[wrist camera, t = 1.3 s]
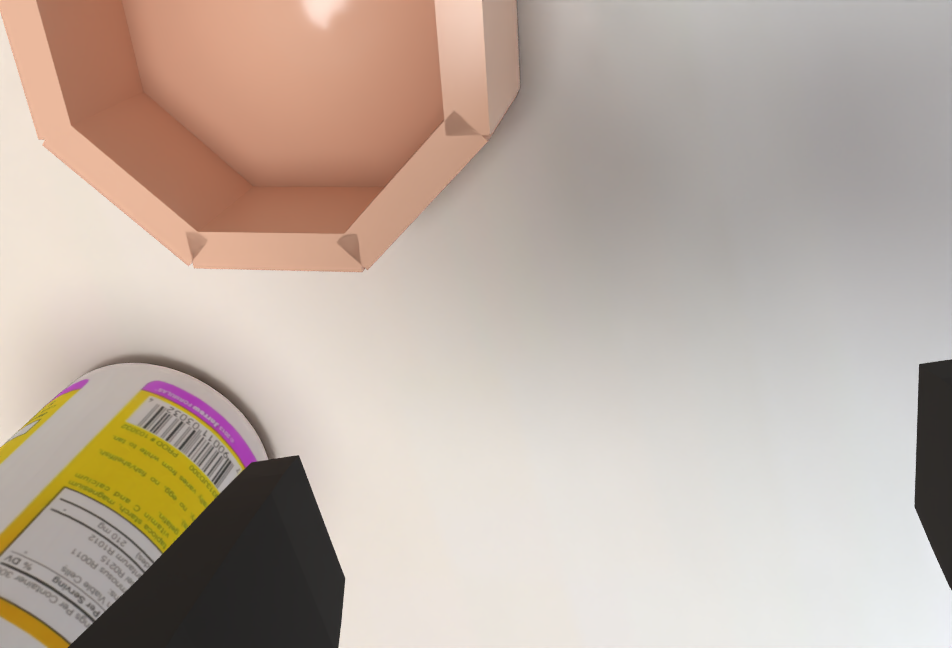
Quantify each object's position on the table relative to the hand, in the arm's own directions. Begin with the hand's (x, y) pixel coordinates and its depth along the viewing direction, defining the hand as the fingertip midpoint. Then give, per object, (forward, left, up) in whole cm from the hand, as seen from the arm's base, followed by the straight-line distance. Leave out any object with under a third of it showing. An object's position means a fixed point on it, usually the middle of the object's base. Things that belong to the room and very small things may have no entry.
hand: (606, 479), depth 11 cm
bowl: (+7, -4, -10) cm, 13 cm away
